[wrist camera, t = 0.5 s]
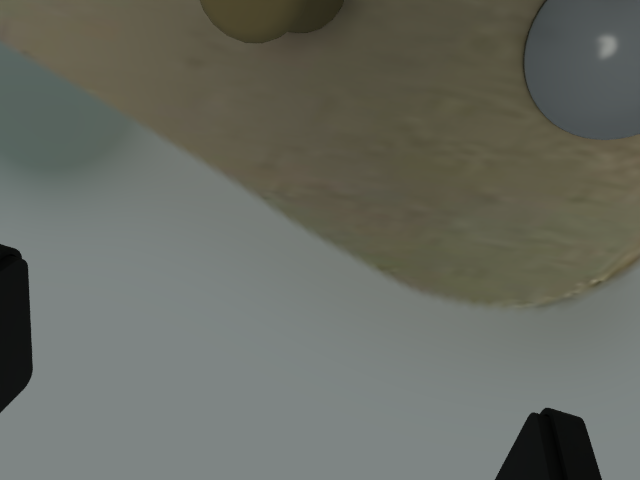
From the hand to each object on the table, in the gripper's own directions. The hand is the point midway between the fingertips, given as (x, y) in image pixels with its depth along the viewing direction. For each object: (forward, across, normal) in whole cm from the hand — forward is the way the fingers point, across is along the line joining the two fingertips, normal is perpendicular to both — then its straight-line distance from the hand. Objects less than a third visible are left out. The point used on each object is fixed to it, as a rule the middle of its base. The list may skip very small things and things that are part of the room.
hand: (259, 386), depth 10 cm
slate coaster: (+29, -12, -5) cm, 32 cm away
